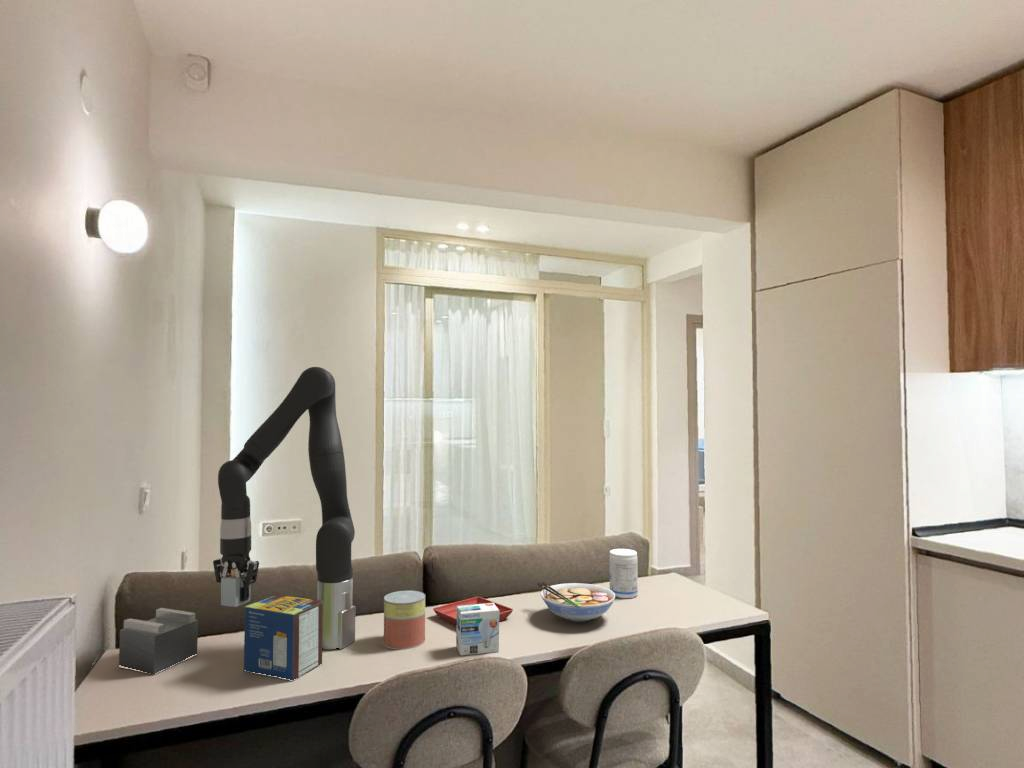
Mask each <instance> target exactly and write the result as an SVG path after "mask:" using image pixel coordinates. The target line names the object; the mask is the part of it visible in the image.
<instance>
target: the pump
mask: <svg viewBox="0 0 1024 768" xmlns="http://www.w3.org/2000/svg"><path fill="white" fill-rule="evenodd" d="M243 574H244V573H241V575H243ZM243 579H244V582H245V581H246V578H245V577H243ZM251 585H252V584H251ZM251 585H250V586H249V598H248V600H246V601H244V602H241V601H240V579H239V578H236V575H235V573H234V570H232V569H231V576H228V577H223V578H221V583H220V606H223V607H224V606H225V607H233V608H237V607H240V606H241V605H244V604H246V603H249V602H251V600H252V599H251V597H252V594H251V592H252V591H251V588H252V586H251Z"/></svg>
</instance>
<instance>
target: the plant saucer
mask: <svg viewBox="0 0 1024 768" xmlns="http://www.w3.org/2000/svg"><path fill="white" fill-rule="evenodd" d="M485 603H494V604H495V605H496V607H497V608H498V609H499V622H500V620H501V621H504V620H503V619H505V620H507V618H508V617H509V616H510V615H511V614H512V613H513V611H514V608H513V607H512V608H511V607H509V606H506V605H503V604H500V603H498V602H495V601H492V600H490V599H486V598H484V597H481V596H474V597H470V598H467V599H463V600H459V601H455V602H451V603H448V604H443V605H440V606H436V607H433V608H432V610H433V611H434V613H435V614H436V616H438V617H439V618H440V619H441V618H442V619H441V620H444V621H445V622H448V623H450V624H453V625H454V626H457V606H463V605H474V604H485Z"/></svg>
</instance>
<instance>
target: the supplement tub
mask: <svg viewBox="0 0 1024 768" xmlns="http://www.w3.org/2000/svg"><path fill="white" fill-rule="evenodd" d="M608 558H609V589H610V590H611V591H613V592H614V593H615V598H618V599H633V598H635V597H637V596H638V593H639V590H638V589H639V588H638V586H639V585H638V584H639V583H638V579H639V578H638V572H639V571H638V570H639V569H638V552H637V551H636V550H634V549H629V548H613V549H611V550H610V551H609V557H608Z"/></svg>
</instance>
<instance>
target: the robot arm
mask: <svg viewBox="0 0 1024 768" xmlns="http://www.w3.org/2000/svg"><path fill="white" fill-rule="evenodd" d="M336 404H337V403H336V381H335V378H334V376H333V374H332V373H331V372H330V371H328V370H326V369H325V368H323V367H319V366H312V367H308V368H306V369H305V370H303V371H302V372H301V374H300V376H299V377H298V379H296V381H295V383H294V385H293V386H292V387H291V390H289V393H287V395H286V396H285V398H284V399H283V400H282V402H281V403H280V404H279V405H278V406H277V408H276V409H275V410H274V411H273V412H272V413H271V414H270V415H269V416H268V418H267V419H266V420H264V421H263V422H262V424H260V426H259V427H258V428H257V429H256V430H255V431H254V432H253V433H252V434H251V435H250V437H249V438H248V439H247V440H246V441H245V443H244V445H243V448H242V449H241V450H240V451H239V452H238V454H237V455H236V456H235V457H234V458H233V459H231V460H227V461H226V462H224V463H223V464H222V465H221V466H220V468H219V469H218V474H217V484H218V485H217V486H218V490H219V496H220V500H221V507H220V513H221V514H220V515H221V516H220V517H221V518H220V528H219V543H220V544H219V545H220V546H219V554H221V558H217V559H215V560H213V561H212V564H213V570H214V576H215V581H216V583H220V584H221V578H223V577H228V576H231V569H232V570H234V573H235V575H236V578H239V579H240V601H241V602H244V601H246V600H248V598H249V586H250V585H253V584H255V583H256V582H257V577H258V572H259V566H260V562H259V561H258V560H256V561H254V560H252V559H251V556H250V552H251V551H252V521H251V500H250V497H249V495H247V493H248V492H247V482H248V481H250V479H252V477H253V476H254V475H255V474H256V473H257V471H258V470H259V469H260V467H261V466H262V465H263V463H264V462H265V461H266V459H267V458H268V457H270V456H271V454H272V453H273V452H275V450H276V449H277V448H278V447H279V446H280V445H281V443H282V442H283V441H284V440H285V438H286V437H287V436H288V435H289V433H290V432H291V431H292V428H293V427H294V426H295V424H296V423H297V422H298V420H299V419H300V418H301V417H302V416H303V415H304V413H306V412H308V416H309V430H308V449H307V450H308V459H309V460H308V461H309V467H310V473H311V477H312V481H313V484H314V487H315V489H316V491H317V494H318V497H319V501H320V505H321V526H320V528H319V529H318V531H317V534H316V538H315V569H316V574H317V585H316V587H317V589H316V590H317V593H316V600H320V601H322V602H323V608H322V611H323V612H322V648H323V649H322V650H337V649H336V648H339V649H340V650H342V648H343V649H344V648H346V647H347V645H348V646H349V645H351V644H353V643H355V642H356V608H357V607H356V606H355V605H354V604H353V587H354V586H353V583H354V582H353V579H354V578H353V577H354V568H353V565H352V564H353V563H352V544H353V541H354V538H355V531H356V530H355V526H354V525H355V524H354V522H353V519H352V514H351V510H350V506H349V501H348V500H349V499H348V491H347V490H348V487H347V484H348V483H347V472H346V471H347V470H346V461H345V454H344V447H343V442H342V437H341V436H342V435H341V431H340V427H339V423H338V418H337V409H336V407H337V405H336ZM241 574H243V575H241ZM243 577H245V578H246V581H245V582H244V579H243ZM352 642H353V643H352ZM350 643H351V644H350ZM339 649H338V650H339Z"/></svg>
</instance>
